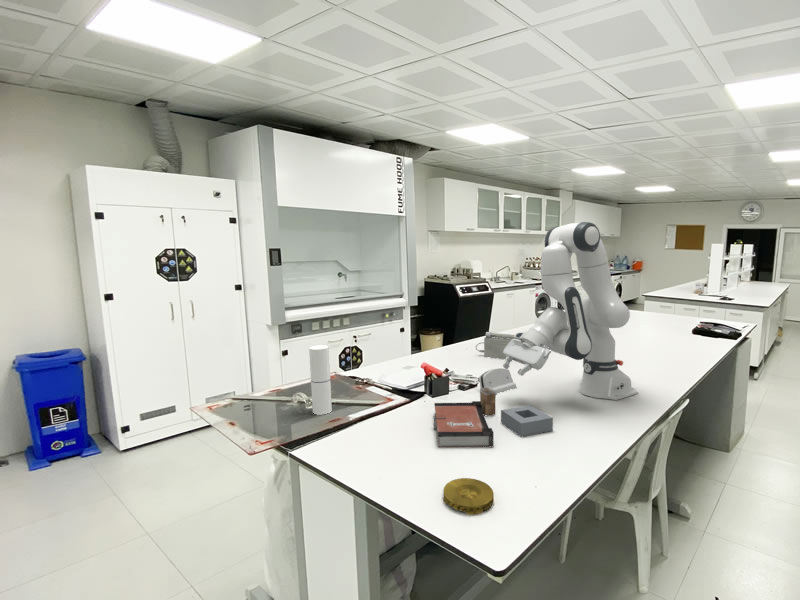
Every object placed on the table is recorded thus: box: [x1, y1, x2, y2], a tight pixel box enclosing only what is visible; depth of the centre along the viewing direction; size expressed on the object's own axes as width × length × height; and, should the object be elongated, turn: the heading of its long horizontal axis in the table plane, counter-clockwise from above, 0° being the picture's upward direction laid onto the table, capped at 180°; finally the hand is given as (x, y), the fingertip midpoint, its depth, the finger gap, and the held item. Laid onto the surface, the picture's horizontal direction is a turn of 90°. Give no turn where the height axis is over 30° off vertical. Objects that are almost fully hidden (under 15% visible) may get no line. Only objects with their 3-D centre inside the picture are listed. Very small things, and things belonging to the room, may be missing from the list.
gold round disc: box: [442, 477, 495, 515], centre depth 102 cm, size 12×12×2 cm
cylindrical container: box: [308, 344, 333, 416], centre depth 158 cm, size 7×7×25 cm
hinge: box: [478, 367, 518, 395], centre depth 179 cm, size 17×5×10 cm, turn 124°
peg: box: [479, 387, 497, 416], centre depth 154 cm, size 4×4×9 cm
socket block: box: [500, 404, 554, 438], centre depth 142 cm, size 12×12×4 cm
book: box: [433, 400, 494, 448], centre depth 141 cm, size 26×18×5 cm
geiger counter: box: [475, 331, 515, 360], centre depth 228 cm, size 14×6×25 cm
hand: (511, 370), depth 155 cm, fingers open, 8 cm apart
